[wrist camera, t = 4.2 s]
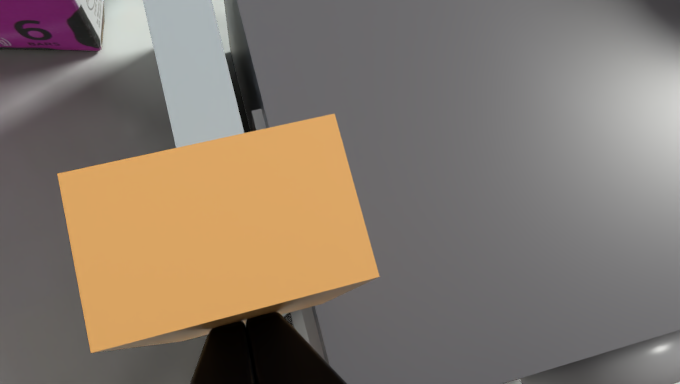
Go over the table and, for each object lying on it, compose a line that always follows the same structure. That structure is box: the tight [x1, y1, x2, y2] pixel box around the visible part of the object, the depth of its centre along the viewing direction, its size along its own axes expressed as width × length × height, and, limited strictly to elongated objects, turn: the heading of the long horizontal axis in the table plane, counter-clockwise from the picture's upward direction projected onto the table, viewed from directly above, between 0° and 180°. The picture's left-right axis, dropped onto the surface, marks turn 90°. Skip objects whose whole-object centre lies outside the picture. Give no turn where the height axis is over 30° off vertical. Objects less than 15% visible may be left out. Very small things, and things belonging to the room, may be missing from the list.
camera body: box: [224, 0, 680, 384], centre depth 15 cm, size 12×10×8 cm
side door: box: [57, 0, 380, 353], centre depth 12 cm, size 9×2×13 cm, turn 15°
